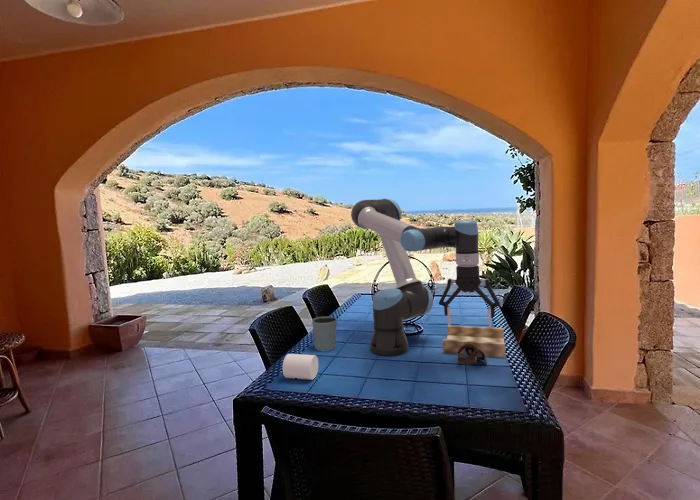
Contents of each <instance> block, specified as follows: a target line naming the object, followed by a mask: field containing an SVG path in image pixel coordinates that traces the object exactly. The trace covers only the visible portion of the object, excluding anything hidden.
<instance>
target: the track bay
mask: <svg viewBox="0 0 700 500" xmlns="http://www.w3.org/2000/svg"><path fill="white" fill-rule="evenodd" d="M504 330H505V328H504V327H489V326H487V327H486V326H471V325H470V326H468V325H452V324H451V325H448V324H447V337H446V338H443V339H442V353H443V354H449V355H450V354H451V355H452V354H453V355H458V353H457V351H458V349H459V348H460V347H461V346H462V345H464V344H466V343H468V342H470V343H472V344H474V345H476V346H477V347H479V348H480V349H481V350H482V351H483V352H484V354H485V357H486V358H487V357H489V358H501V359H502V358H503V359H504V358H505V359H506V342H505V336H504V335H505V333H504V332H505V331H504ZM474 349H475V348H474ZM460 355H461V356H462V355H463V356H468V355H467V352H466V351H465V349H463V350H462V351H461V353H460Z"/></svg>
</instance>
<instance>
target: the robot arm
mask: <svg viewBox="0 0 700 500" xmlns="http://www.w3.org/2000/svg"><path fill="white" fill-rule="evenodd" d="M350 218H351V220H352V222H353V224H355V226H357V227H358V228H360V229H363V230H371V231H373V232H374V233H376V234H377V235H379V237H380V240H381V243H382V246H383V249H384V251H385V254H386V257H387V260H388V261H387V262H388V263H389V266H390V269H391V272H392V275H393V277H394V280H395V283H396V286H395V288H389V289H388V288H386V289H385V288H384V289H382V290H379V291H376V292H375V293H374V294H373V297H372V305H371V306H372V312H373V313H372V315H373V333H372V335H371V336H372V338H371V339H370V351H371V352H372V353H374V354H376V355H379V356H387V357H388V356H389V357H390V356H398V355H402V354H405V353H407V352H408V350H409V349H410V348H409V341H408V339H407V338H408V337H407V336H406V333H405V330H404V321H406V320H410V319H412V318H417V317H422V316H425V315H427V314H429V313H430V311H432V308H433V306H434V296H433V292H432V291H431V290H430V288H428V287H427V286H424V285H423V283H422V280H420V279H418V278H417V277H416V273H415V271H414V269H413V265H412V263H411V260H410V257H409V255H408V253H407V252H420V251H427V250H432V249H433V250H434V249H441V248H454V249H455V264H456V265H457V266H455V267H456V270H455V272H456V278H455V279H453V278H448V279H447V282H446V283H447V285H446V287H445V289H444V291H443V293H442V295H441V297H440V299H439V302H438V305H439V306H443V311H444V316H446V317H447V326H448V325H452V319H451V318H452V317H451V316H452V314H451V305H450V304H451V303H452V301H453V300H454V299H455V298H456V297H457V296H458V295H459V293H461V292H463V293H474V292H476V294H478V295H479V296H480V298H481V299H482V300H484V302H485V303H486V304H487V305H488V310H487V311H488V327H490V328H492V318H495V316H496V314H495V312H496V311H495V308H497V307H500V306H501V303H500V300H499V299H498V297H497V295H496V293H495V292H494V290H493V288H492V286H491V285H490V279H489V278H485V279H481V278H480V266H479V264H480V255H479V227H478V222H477V220H474V219H473V220H472V219H471V220H470V219H469V220H456V221H455V222H454V226H443V225H440V226H433V227H427V228H425V227H424V228H419V227H417V226H414V225H413V224H412V225H411V224H410V223H407V222H404V221H402V220H401V219H402V209H401V206H400V205H399V203H398V202H397V201H395V200H394V199H389V198H381V199H380V198H379V199H362V200H360V201H358V202H357V203H355V204H354V205H353V206H352V209H351V213H350ZM454 284H455V285H456V286H457V288H456V289H455V291H454V292H453V293H452V294H451V295H450V296H449V297H448V298H447V295H448V293H449V292H450V288H451V287H452V286H454ZM481 284H482V285H483V286H484V287H485V288H486V290H487V291H488V293H489V295H490V297H491V298H492V300H493V301H492V300H491V299H490V298H489V297H488V296H487V294H486V293H485V292H484V291H482V289H481V288H480V285H481ZM446 298H447V300H446V301H445V299H446Z"/></svg>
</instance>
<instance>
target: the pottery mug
mask: <svg viewBox="0 0 700 500" xmlns="http://www.w3.org/2000/svg"><path fill="white" fill-rule="evenodd" d="M474 348H475V349H474ZM463 349H465V351H466V352H467V355H465V356H464V355H463V356H462V355H461V354H460V353H461V351H462V350H463ZM457 353H458V354H457V358H456V359H457V363H458V365H461V364H462V365H467V364H472V363H477V361H482V362H483V361H484V362H485V366H488V361H487V356H485V354H484V352H483V351H482V350H481V349H480V348H479V347H477V346H476V345H474V344H472V343H470V342H468V343H466V344H464V345H462V346H461V347H460V348H459V349H458V351H457Z"/></svg>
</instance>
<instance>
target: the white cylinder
mask: <svg viewBox="0 0 700 500" xmlns="http://www.w3.org/2000/svg"><path fill="white" fill-rule="evenodd" d="M282 373H283V374H282V375H283V377H284V378H285V379H295V378H297V380H310V381H313V379H314V378H315V377H317V376H316V375H318V373H319V358H318V357H317V355H316V354H302V353H300V354H299V353H287V354H286V355H285V356H284V359H283V361H282ZM315 379H316V378H315ZM315 379H314V380H315Z"/></svg>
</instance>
